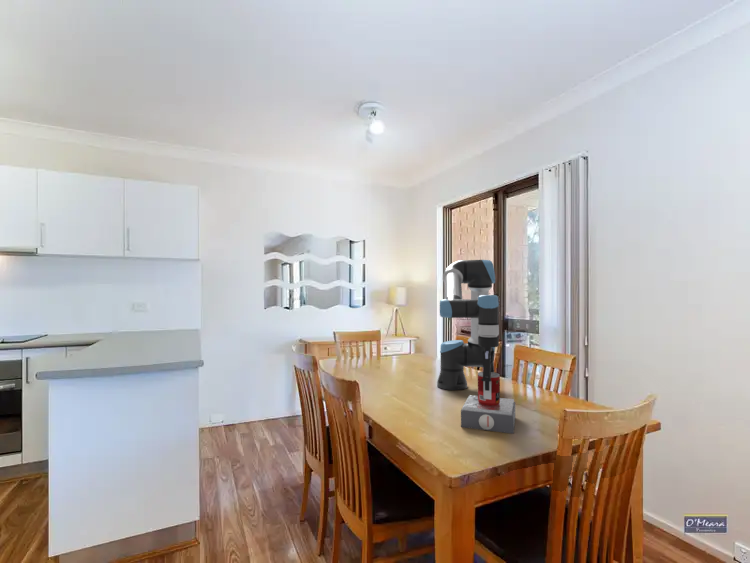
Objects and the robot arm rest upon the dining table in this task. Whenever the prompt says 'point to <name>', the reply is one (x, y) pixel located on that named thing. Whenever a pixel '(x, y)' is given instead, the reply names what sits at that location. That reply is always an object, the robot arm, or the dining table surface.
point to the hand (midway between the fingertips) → (488, 395)
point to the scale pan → (502, 408)
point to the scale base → (488, 421)
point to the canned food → (494, 390)
